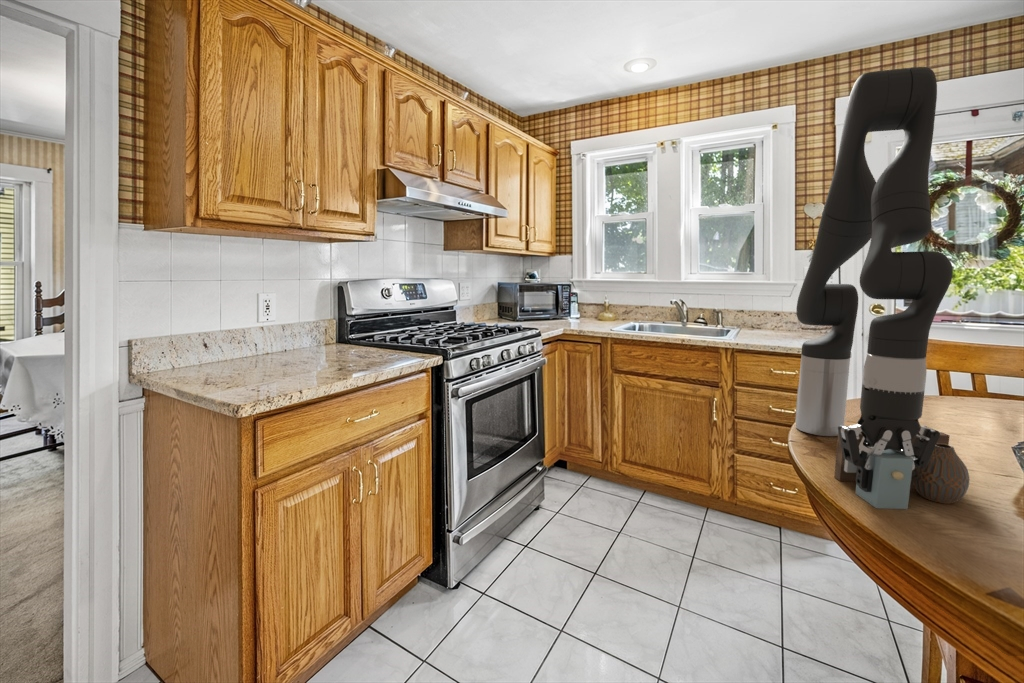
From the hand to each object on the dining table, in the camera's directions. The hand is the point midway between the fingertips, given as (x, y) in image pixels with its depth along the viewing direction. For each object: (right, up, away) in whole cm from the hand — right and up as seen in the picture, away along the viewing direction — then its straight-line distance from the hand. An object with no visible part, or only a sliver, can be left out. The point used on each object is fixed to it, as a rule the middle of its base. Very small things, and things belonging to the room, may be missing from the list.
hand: (881, 489), depth 76 cm
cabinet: (0, -2, +2) cm, 2 cm away
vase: (+10, -2, +1) cm, 10 cm away
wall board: (+7, -1, +8) cm, 10 cm away
